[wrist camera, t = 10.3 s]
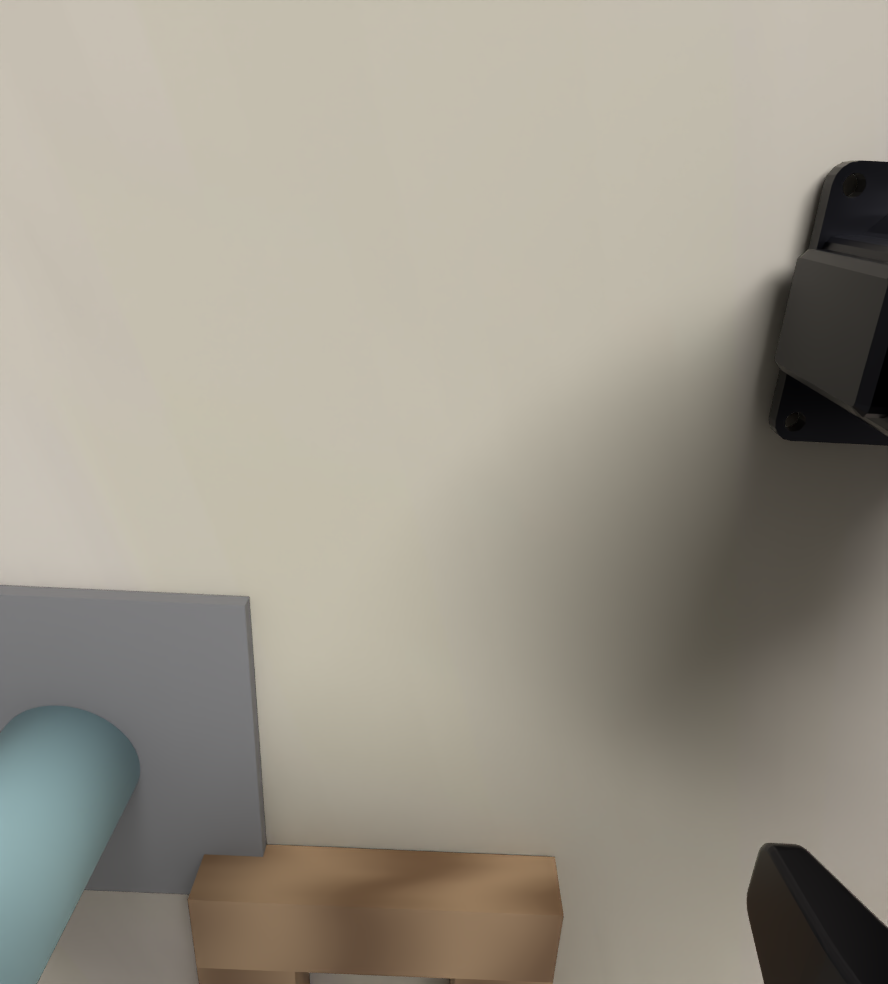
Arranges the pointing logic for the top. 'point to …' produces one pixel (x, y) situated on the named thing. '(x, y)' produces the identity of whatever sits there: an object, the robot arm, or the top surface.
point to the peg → (54, 824)
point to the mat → (150, 716)
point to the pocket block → (375, 916)
